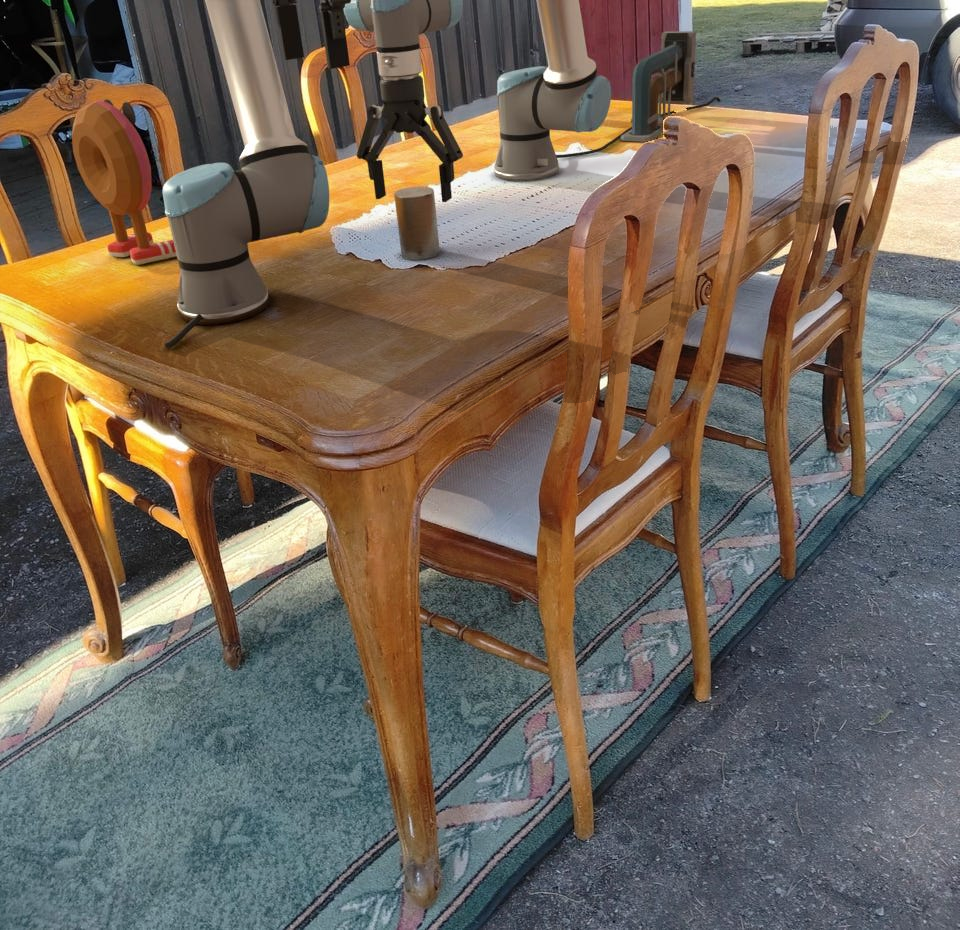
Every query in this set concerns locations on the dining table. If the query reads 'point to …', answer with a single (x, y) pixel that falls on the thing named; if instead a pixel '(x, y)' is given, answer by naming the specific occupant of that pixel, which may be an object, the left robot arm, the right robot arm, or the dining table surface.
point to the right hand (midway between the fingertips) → (413, 198)
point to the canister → (417, 223)
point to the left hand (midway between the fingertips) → (315, 63)
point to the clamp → (662, 84)
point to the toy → (118, 176)
